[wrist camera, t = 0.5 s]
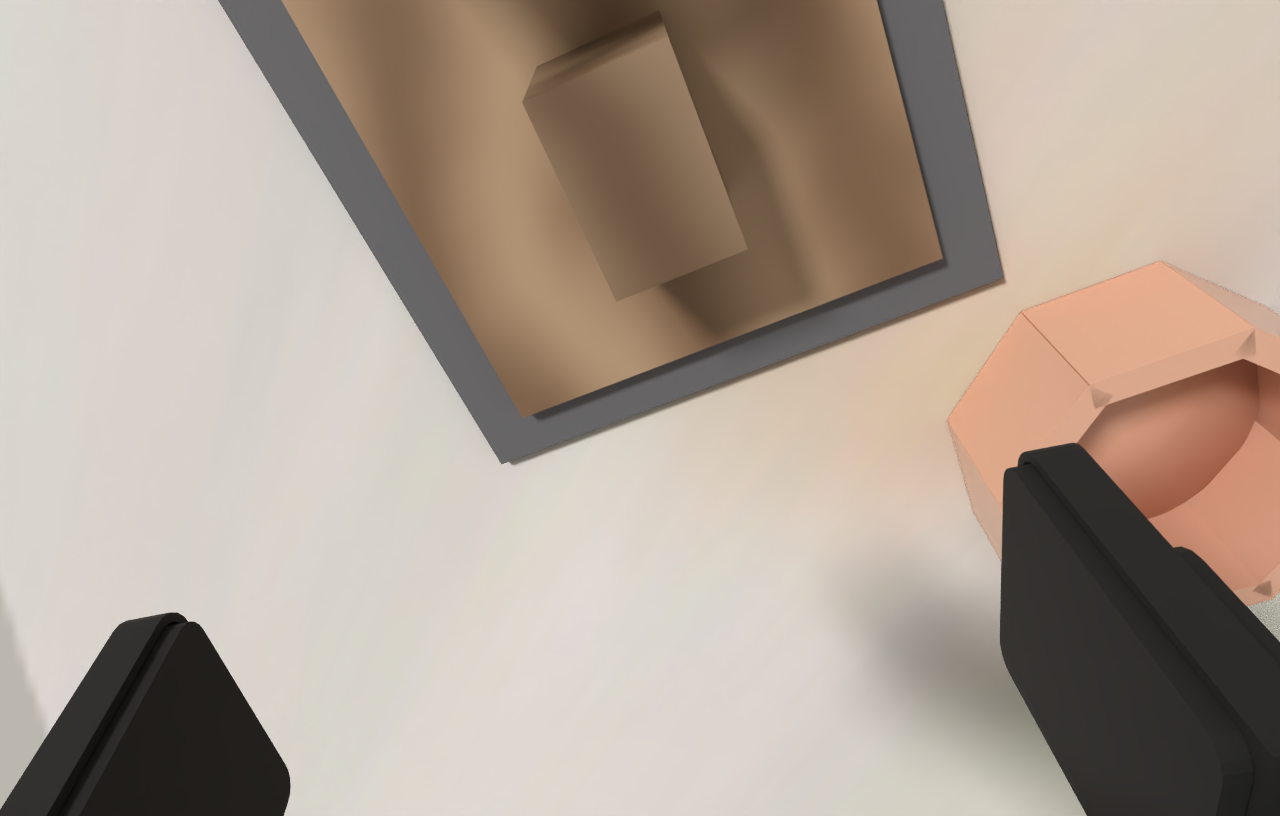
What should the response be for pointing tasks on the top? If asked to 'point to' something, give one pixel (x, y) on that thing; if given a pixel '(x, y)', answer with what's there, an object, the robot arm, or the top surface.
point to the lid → (631, 167)
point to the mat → (965, 266)
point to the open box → (1144, 412)
